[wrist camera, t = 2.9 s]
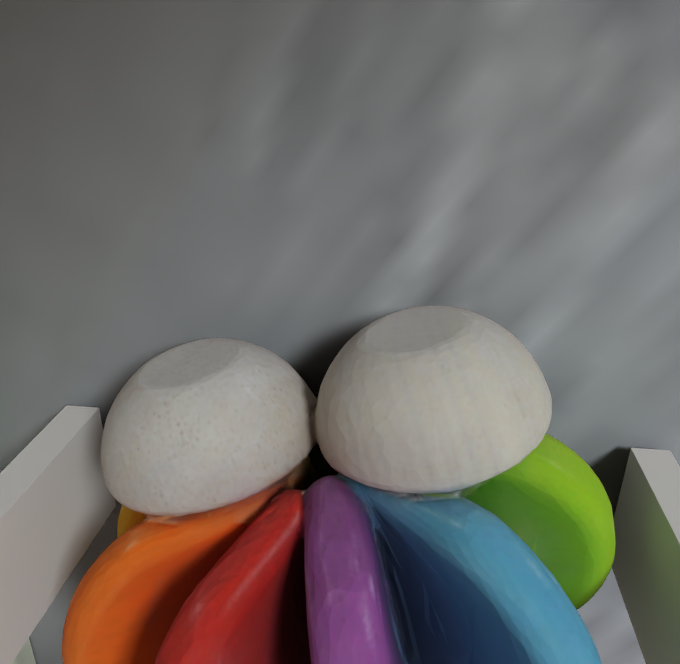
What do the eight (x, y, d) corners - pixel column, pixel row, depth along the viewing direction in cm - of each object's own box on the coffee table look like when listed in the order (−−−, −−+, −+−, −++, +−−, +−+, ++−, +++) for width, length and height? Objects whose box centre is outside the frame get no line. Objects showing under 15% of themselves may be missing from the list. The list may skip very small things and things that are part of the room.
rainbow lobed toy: (97, 332, 14) (-212, 608, 7) (571, 258, 12) (761, 542, 5) (210, 620, 17) (73, 992, 10) (594, 599, 15) (727, 1037, 8)
